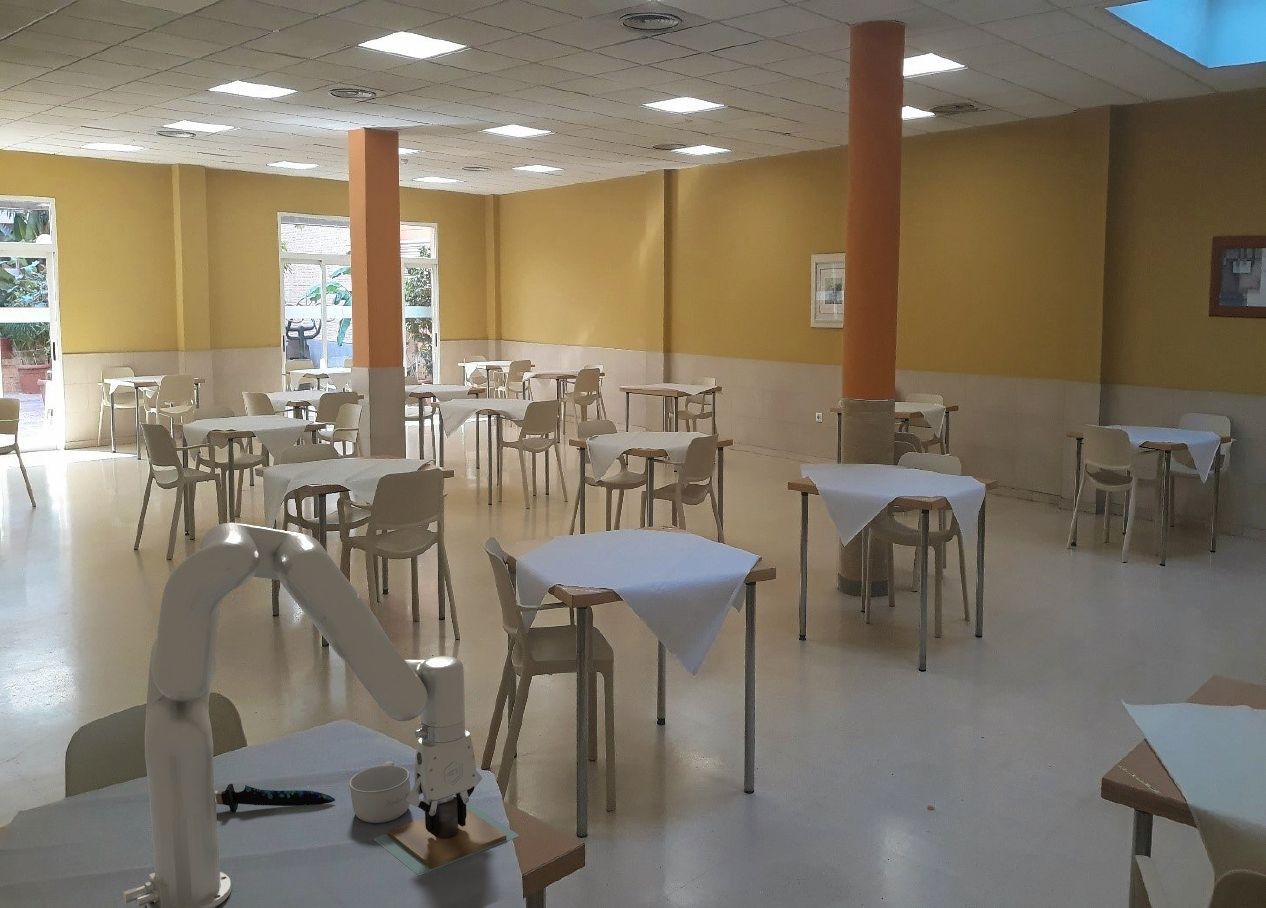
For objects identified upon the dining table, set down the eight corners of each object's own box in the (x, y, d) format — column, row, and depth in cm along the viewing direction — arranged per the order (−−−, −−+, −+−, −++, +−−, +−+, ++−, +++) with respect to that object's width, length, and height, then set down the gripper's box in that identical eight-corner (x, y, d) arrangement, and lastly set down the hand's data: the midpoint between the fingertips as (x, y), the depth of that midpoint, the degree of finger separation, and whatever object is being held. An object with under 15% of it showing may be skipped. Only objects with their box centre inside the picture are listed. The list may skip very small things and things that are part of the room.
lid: (430, 869, 177) (429, 830, 176) (387, 835, 189) (385, 798, 188) (506, 839, 187) (505, 802, 186) (460, 808, 198) (459, 774, 197)
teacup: (396, 834, 191) (395, 792, 190) (340, 828, 193) (338, 786, 192) (426, 799, 204) (425, 759, 203) (373, 794, 207) (372, 754, 205)
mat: (419, 881, 175) (419, 875, 175) (373, 844, 187) (373, 838, 187) (520, 841, 188) (519, 835, 188) (470, 808, 200) (470, 803, 200)
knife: (163, 808, 198) (164, 786, 197) (169, 801, 201) (170, 778, 200) (331, 820, 200) (332, 797, 200) (334, 812, 203) (336, 790, 203)
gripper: (410, 749, 177) (414, 853, 179) (496, 722, 187) (498, 820, 190) (388, 735, 182) (392, 836, 185) (473, 710, 193) (475, 805, 196)
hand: (446, 827), depth 187 cm, fingers open, 4 cm apart
